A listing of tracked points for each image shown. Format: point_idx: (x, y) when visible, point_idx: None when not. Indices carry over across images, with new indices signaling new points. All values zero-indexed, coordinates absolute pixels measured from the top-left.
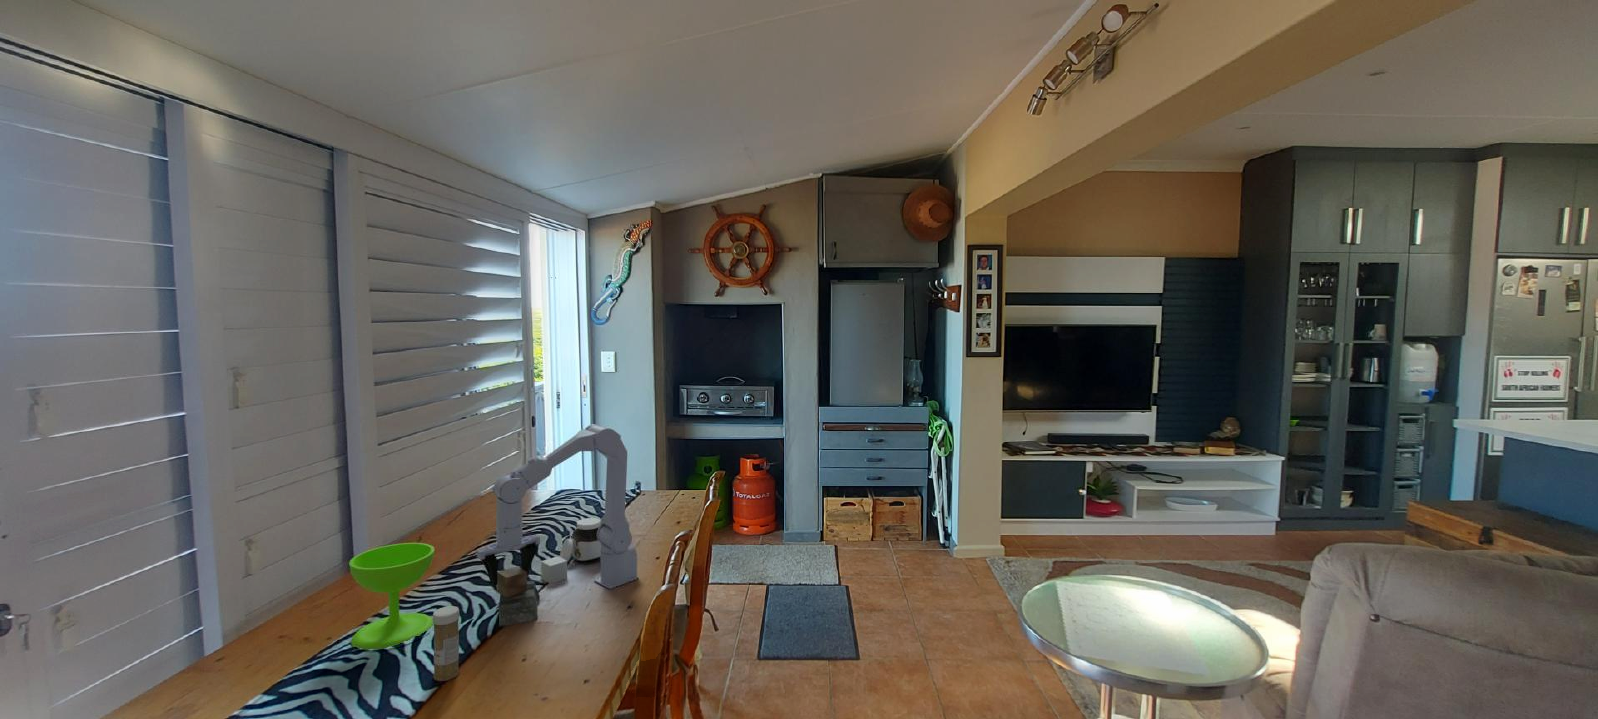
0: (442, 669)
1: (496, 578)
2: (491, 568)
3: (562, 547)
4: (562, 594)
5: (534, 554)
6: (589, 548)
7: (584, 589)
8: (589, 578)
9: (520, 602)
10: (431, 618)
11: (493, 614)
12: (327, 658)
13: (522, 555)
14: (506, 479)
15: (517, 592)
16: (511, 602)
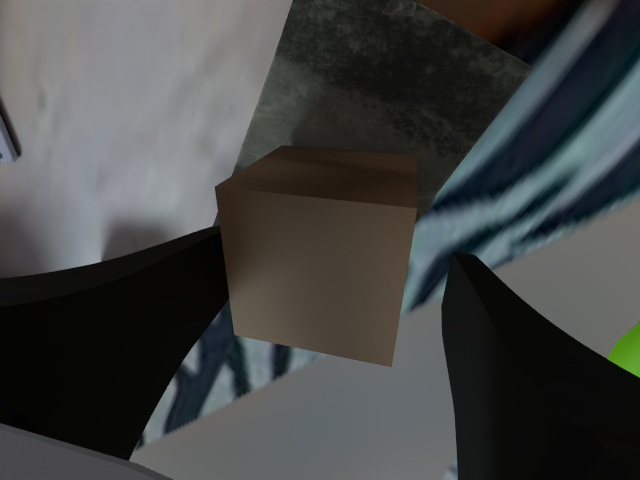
0: None
1: (477, 274)
2: (621, 367)
3: None
4: (144, 151)
5: (24, 279)
6: None
7: (61, 120)
8: (34, 196)
9: (392, 4)
10: (635, 362)
11: (430, 213)
12: None
13: (149, 378)
14: None
15: (339, 153)
16: (432, 63)
